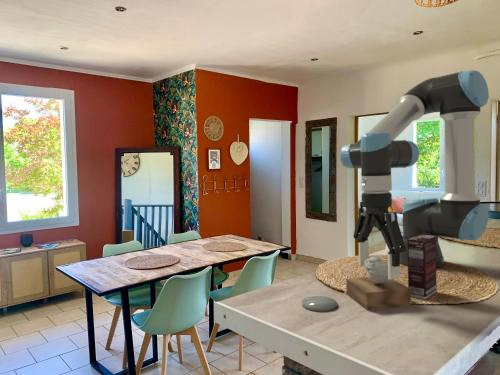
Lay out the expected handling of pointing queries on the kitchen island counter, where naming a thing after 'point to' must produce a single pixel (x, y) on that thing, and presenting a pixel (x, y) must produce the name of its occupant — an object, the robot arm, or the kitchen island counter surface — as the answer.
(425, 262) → the supplement box
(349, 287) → the walnut block
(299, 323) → the kitchen island counter surface
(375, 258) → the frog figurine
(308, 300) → the grey oval dome
